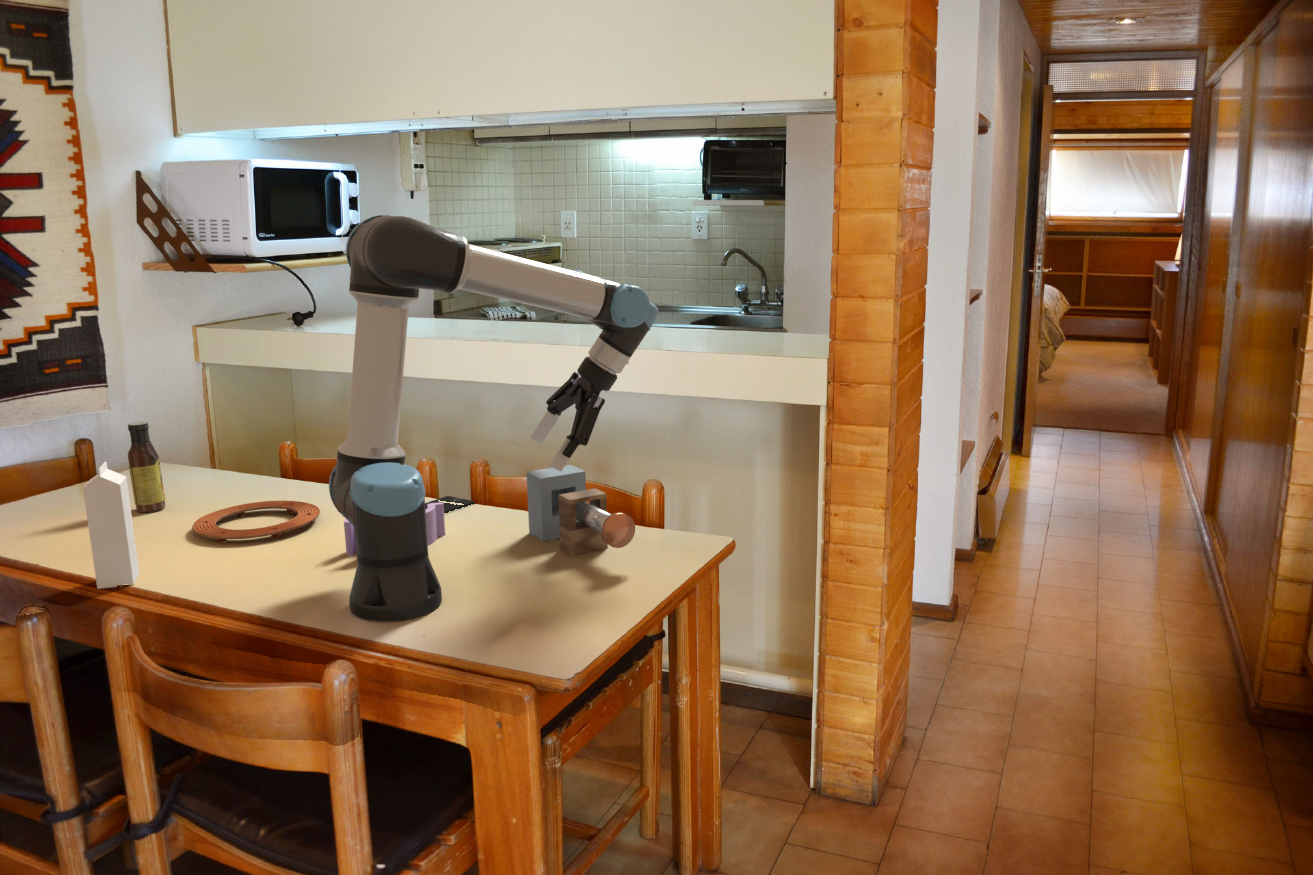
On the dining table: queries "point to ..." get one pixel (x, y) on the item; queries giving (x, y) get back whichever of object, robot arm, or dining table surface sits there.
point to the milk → (111, 529)
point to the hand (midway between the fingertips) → (545, 454)
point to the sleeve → (576, 533)
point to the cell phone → (449, 506)
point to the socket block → (550, 498)
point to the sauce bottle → (145, 470)
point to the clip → (433, 524)
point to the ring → (211, 530)
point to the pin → (607, 524)
